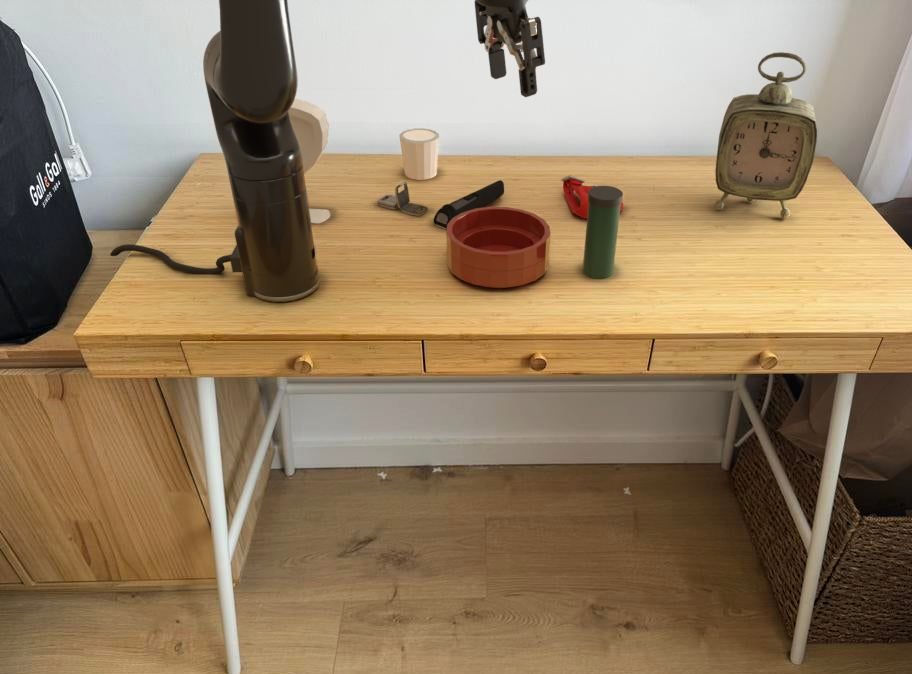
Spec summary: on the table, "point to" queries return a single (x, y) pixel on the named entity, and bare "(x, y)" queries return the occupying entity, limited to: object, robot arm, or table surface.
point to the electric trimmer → (469, 203)
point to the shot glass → (420, 153)
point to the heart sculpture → (310, 140)
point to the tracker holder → (582, 192)
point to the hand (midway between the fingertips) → (513, 86)
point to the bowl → (498, 246)
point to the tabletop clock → (766, 143)
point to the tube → (601, 231)
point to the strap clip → (401, 201)
